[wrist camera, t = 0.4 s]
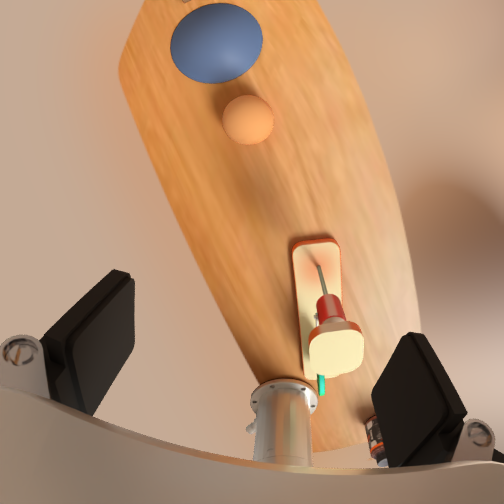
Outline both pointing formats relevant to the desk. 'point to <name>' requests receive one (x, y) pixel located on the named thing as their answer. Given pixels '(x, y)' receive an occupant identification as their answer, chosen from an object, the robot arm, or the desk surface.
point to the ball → (248, 119)
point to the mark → (216, 43)
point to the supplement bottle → (376, 441)
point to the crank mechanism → (323, 313)
